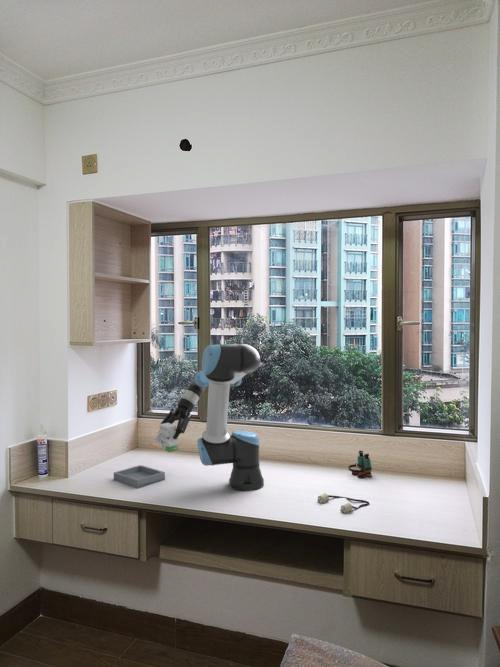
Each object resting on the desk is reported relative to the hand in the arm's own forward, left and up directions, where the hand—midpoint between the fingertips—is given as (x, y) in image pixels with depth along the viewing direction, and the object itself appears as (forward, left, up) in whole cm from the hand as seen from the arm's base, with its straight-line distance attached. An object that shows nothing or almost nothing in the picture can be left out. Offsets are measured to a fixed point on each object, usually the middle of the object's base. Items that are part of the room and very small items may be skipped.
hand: (162, 442), depth 240 cm
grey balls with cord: (-81, -23, -17) cm, 86 cm away
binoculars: (-69, -58, -16) cm, 91 cm away
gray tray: (+6, +9, -16) cm, 20 cm away
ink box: (0, -4, -4) cm, 5 cm away
